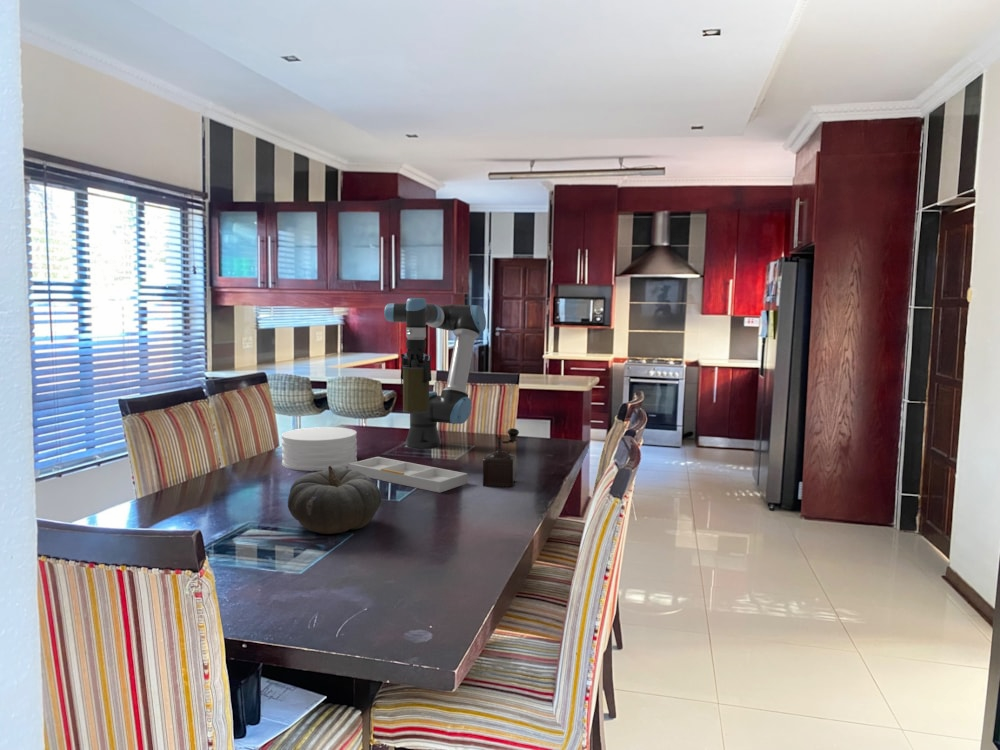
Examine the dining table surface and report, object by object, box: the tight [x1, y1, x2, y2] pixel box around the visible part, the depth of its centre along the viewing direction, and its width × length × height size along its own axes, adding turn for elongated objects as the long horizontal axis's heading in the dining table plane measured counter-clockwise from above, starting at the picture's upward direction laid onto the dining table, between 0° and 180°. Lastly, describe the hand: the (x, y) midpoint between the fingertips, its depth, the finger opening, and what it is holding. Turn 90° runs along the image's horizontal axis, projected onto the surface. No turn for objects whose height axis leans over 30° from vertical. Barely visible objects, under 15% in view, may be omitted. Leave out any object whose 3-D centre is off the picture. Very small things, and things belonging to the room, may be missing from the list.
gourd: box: [287, 466, 382, 535], centre depth 192 cm, size 25×25×17 cm
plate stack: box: [281, 426, 358, 472], centre depth 269 cm, size 28×28×12 cm
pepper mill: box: [482, 428, 520, 488], centre depth 243 cm, size 16×11×18 cm
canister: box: [400, 360, 430, 414], centre depth 267 cm, size 11×10×20 cm
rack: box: [347, 456, 469, 493], centre depth 246 cm, size 43×15×4 cm, turn 55°
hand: (415, 398), depth 268 cm, fingers open, 6 cm apart
